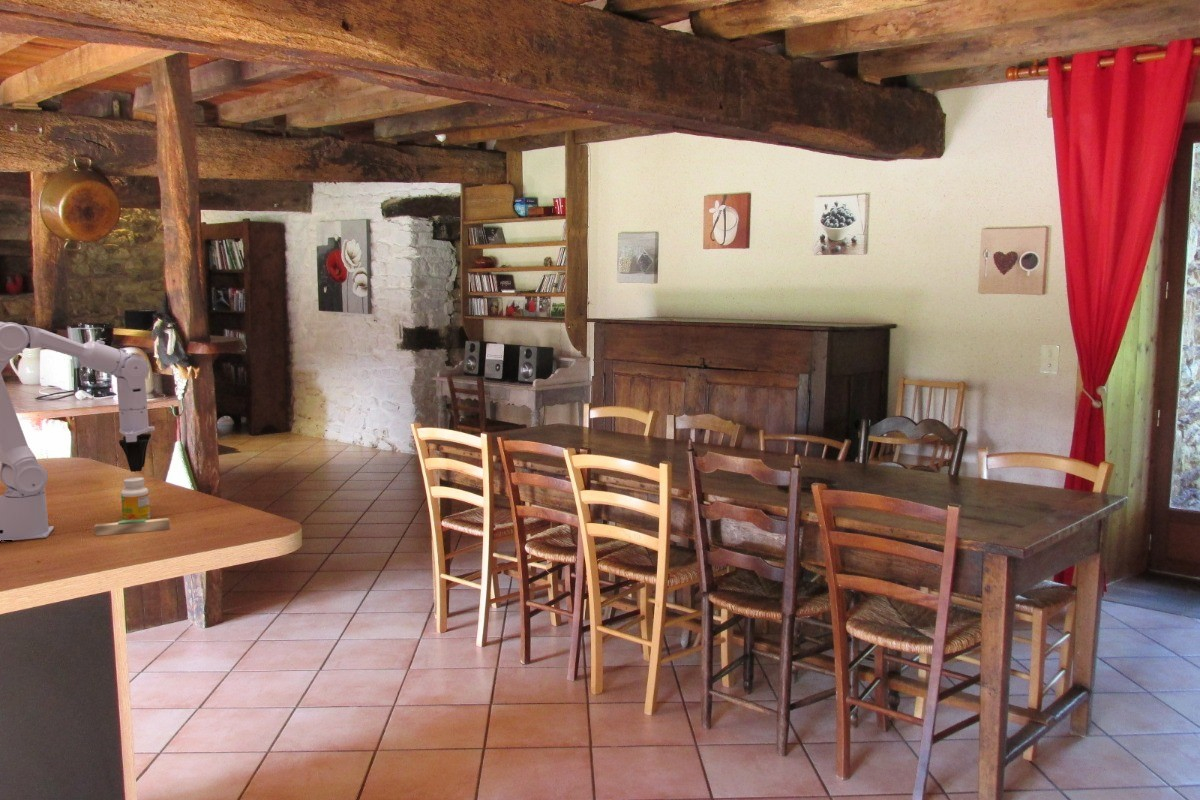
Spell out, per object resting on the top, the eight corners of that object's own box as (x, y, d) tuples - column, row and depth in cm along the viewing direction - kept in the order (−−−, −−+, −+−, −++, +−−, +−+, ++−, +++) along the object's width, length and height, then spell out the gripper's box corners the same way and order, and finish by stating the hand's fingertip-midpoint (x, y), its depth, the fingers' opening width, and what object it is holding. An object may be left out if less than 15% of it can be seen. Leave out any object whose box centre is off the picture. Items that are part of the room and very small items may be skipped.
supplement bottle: (117, 524, 210) (114, 480, 208) (139, 518, 214) (136, 475, 213) (134, 527, 207) (130, 482, 206) (156, 521, 212) (153, 477, 211)
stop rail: (94, 536, 200) (94, 525, 200) (96, 533, 202) (95, 522, 202) (168, 529, 205) (168, 518, 205) (169, 527, 207) (169, 516, 207)
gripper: (149, 411, 209) (154, 473, 211) (156, 403, 223) (160, 461, 224) (113, 413, 207) (118, 476, 209) (122, 404, 220) (126, 463, 222)
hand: (137, 469), depth 216 cm, fingers open, 4 cm apart
